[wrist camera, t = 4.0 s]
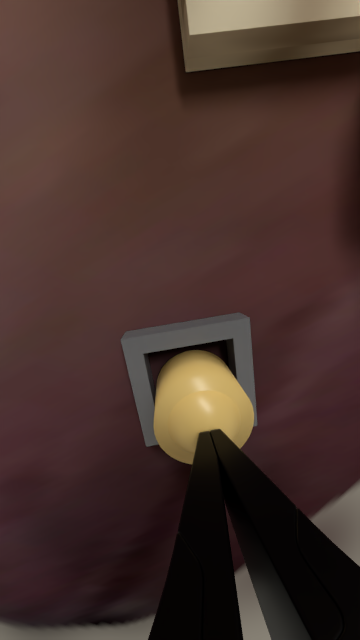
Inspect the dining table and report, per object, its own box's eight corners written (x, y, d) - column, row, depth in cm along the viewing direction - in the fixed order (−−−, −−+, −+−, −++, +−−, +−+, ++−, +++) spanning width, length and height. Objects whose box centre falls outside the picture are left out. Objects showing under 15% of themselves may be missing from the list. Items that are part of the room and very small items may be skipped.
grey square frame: (239, 312, 12) (249, 317, 11) (247, 409, 14) (257, 425, 12) (126, 331, 12) (120, 339, 10) (148, 428, 14) (146, 446, 12)
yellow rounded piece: (228, 343, 11) (261, 380, 7) (234, 411, 12) (266, 473, 8) (149, 357, 11) (142, 402, 7) (163, 424, 12) (163, 494, 8)
